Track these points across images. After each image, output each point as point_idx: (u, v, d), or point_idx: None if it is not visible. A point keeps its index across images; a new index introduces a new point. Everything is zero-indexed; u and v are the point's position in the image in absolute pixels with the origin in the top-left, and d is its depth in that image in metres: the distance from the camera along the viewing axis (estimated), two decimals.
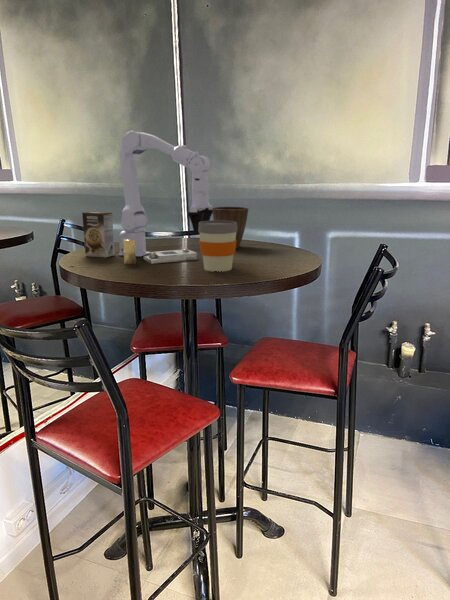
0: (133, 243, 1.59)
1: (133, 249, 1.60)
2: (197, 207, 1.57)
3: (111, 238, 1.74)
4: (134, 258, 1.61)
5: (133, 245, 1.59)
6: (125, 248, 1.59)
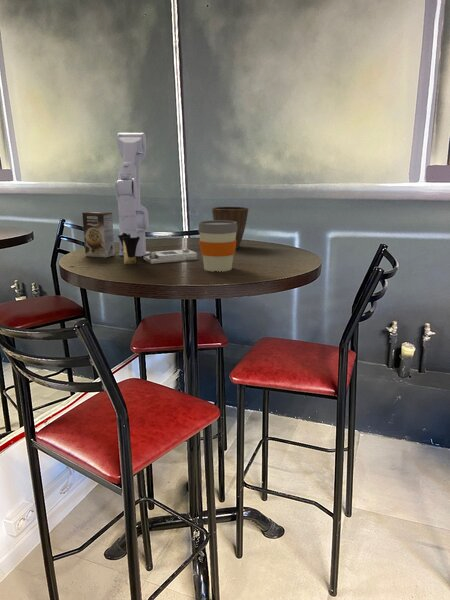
0: None
1: None
2: (136, 232, 1.54)
3: (111, 238, 1.74)
4: (134, 258, 1.61)
5: None
6: (125, 248, 1.59)
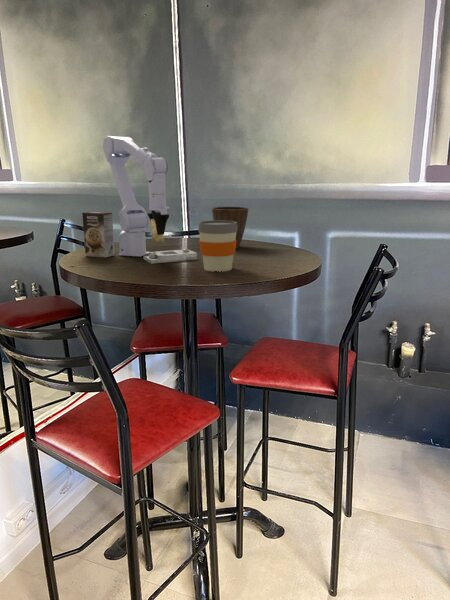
0: None
1: None
2: None
3: (111, 238, 1.74)
4: (162, 237, 1.63)
5: None
6: (153, 227, 1.61)
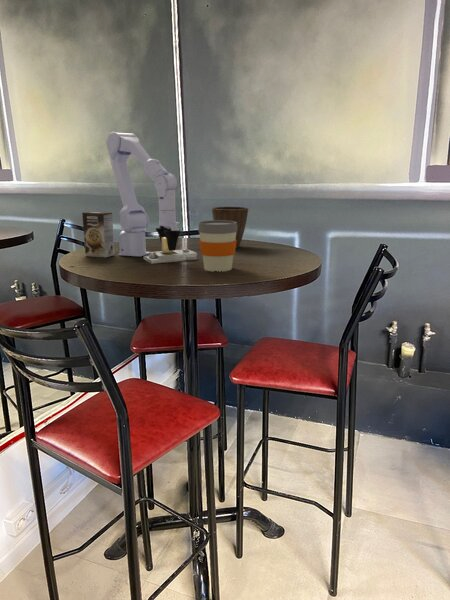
0: None
1: None
2: None
3: (111, 238, 1.74)
4: None
5: None
6: (164, 245, 1.65)
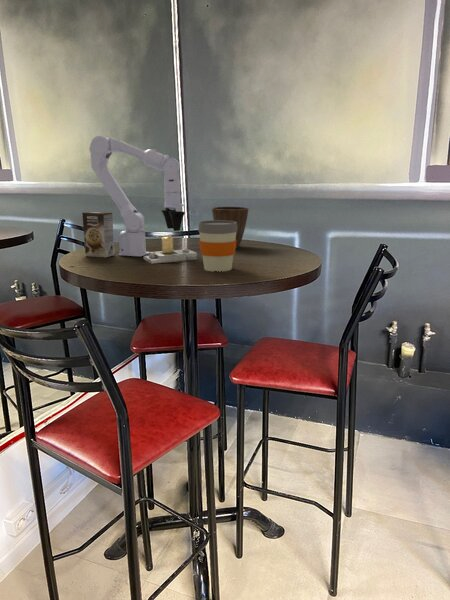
0: (171, 240, 1.65)
1: (171, 246, 1.65)
2: None
3: (111, 238, 1.74)
4: None
5: (171, 242, 1.65)
6: (164, 245, 1.65)
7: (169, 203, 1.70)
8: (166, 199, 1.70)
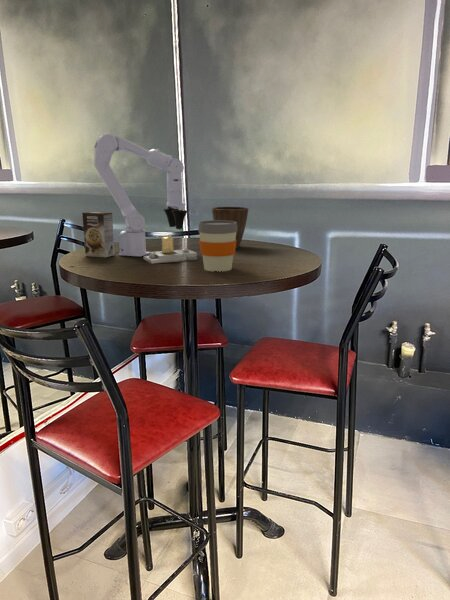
0: (172, 240, 1.65)
1: (171, 246, 1.65)
2: None
3: (111, 238, 1.74)
4: None
5: (172, 242, 1.65)
6: (164, 245, 1.65)
7: (172, 202, 1.75)
8: (169, 198, 1.75)
